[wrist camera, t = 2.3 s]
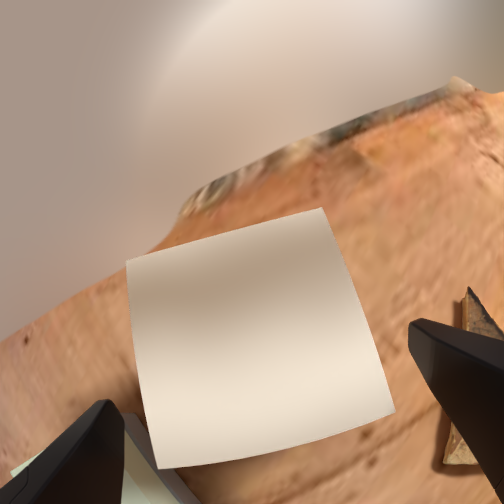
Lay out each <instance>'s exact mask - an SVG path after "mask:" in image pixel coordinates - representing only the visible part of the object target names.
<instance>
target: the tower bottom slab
mask: <svg viewBox="0 0 504 504" xmlns="http://www.w3.org/2000/svg"><path fill="white" fill-rule="evenodd" d="M120 414H121V415H122V417H123V419H124V422H125V430H126V432H127V433H128V435H129V436H130V438H131V439H132V441H133V442H134V444H135V445H136V447H137V448H138V450H139V451H140V453H141V454H142V455H143V457H144V458H145V460H146V461H147V462H148V464H149V465H150V466H151V468H152V469H153V471H154V472H155V473H156V474H157V476H158V477H159V478H160V480H161V481H162V482H163V484H164V485H165V486H166V487H167V489H168V490H169V491H170V492H171V494H172V495H173V496H174V497H175V498H176V500H177V501H178V502H179V503H180V504H201V502H200V501H199V500H198V499H197V498H196V496H195V495H194V494H193V493H192V492H191V490H190V489H189V488H188V487H187V485H186V484H185V483H184V482H183V480H182V479H181V478H180V477H179V475H178V474H177V473H176V471H175V470H174V469H173V468H168V469H158V467H157V463H156V459H155V455H154V451H153V447H152V443H151V438H150V435H149V434H148V432H147V431H146V429H145V428H144V426H143V425H142V423H141V422H140V420H139V418H138V417H137V415H136V414H135V413H120Z"/></svg>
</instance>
